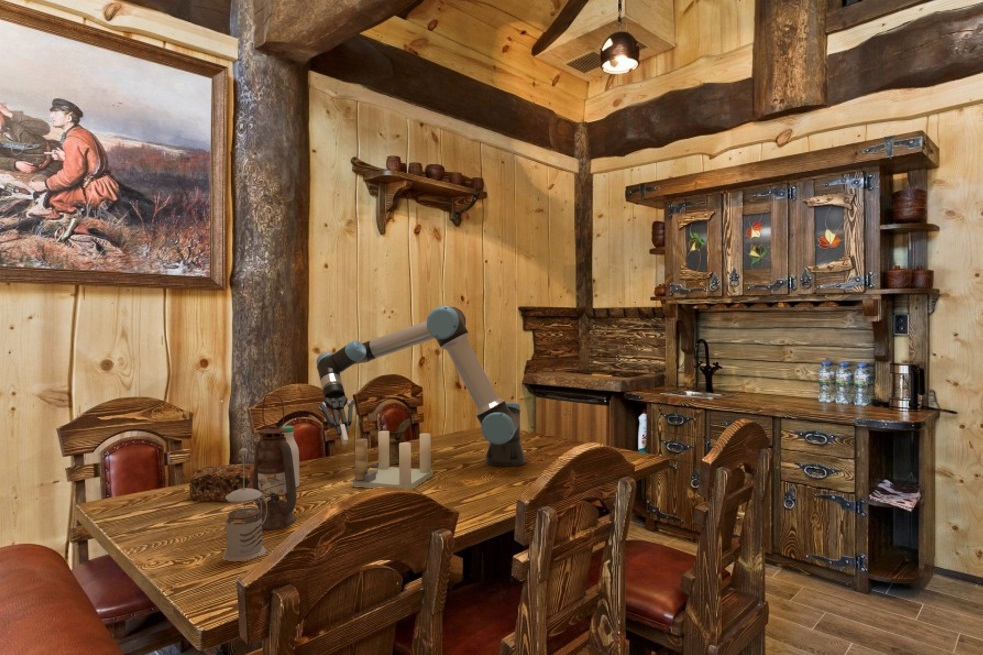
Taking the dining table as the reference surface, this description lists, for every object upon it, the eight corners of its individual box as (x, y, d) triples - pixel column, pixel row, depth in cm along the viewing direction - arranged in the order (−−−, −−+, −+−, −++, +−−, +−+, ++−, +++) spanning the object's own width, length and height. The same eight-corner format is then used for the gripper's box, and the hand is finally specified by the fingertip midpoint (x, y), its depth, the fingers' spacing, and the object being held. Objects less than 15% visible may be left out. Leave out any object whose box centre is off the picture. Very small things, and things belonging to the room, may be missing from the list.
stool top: (432, 475, 207) (432, 433, 207) (407, 492, 188) (407, 445, 187) (380, 471, 213) (379, 430, 213) (350, 487, 194) (349, 441, 194)
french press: (212, 558, 137) (210, 451, 136) (249, 540, 148) (248, 441, 147) (245, 564, 133) (244, 454, 133) (280, 545, 144) (279, 444, 144)
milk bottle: (304, 485, 197) (303, 425, 196) (287, 491, 190) (286, 429, 189) (286, 482, 200) (286, 423, 199) (269, 488, 193) (268, 427, 192)
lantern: (277, 534, 152) (276, 398, 151) (237, 523, 160) (235, 394, 160) (310, 521, 161) (309, 393, 161) (271, 511, 170) (269, 390, 169)
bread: (262, 492, 189) (262, 461, 189) (248, 502, 179) (248, 469, 179) (205, 492, 190) (205, 461, 190) (187, 502, 179) (187, 469, 179)
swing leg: (370, 470, 206) (370, 433, 205) (381, 471, 204) (380, 434, 204) (353, 479, 194) (352, 440, 194) (363, 480, 193) (363, 441, 193)
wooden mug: (401, 468, 219) (401, 419, 218) (374, 463, 226) (373, 416, 225) (416, 463, 226) (416, 416, 226) (389, 458, 233) (389, 413, 233)
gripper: (348, 393, 223) (362, 446, 208) (313, 396, 217) (324, 450, 202) (352, 381, 218) (366, 433, 203) (316, 383, 212) (327, 437, 197)
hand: (345, 441), depth 203 cm, fingers closed
